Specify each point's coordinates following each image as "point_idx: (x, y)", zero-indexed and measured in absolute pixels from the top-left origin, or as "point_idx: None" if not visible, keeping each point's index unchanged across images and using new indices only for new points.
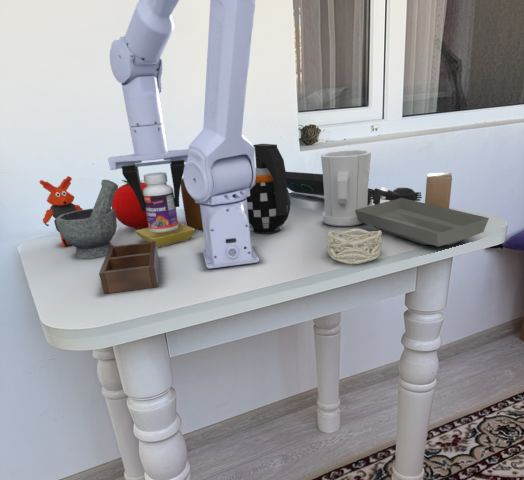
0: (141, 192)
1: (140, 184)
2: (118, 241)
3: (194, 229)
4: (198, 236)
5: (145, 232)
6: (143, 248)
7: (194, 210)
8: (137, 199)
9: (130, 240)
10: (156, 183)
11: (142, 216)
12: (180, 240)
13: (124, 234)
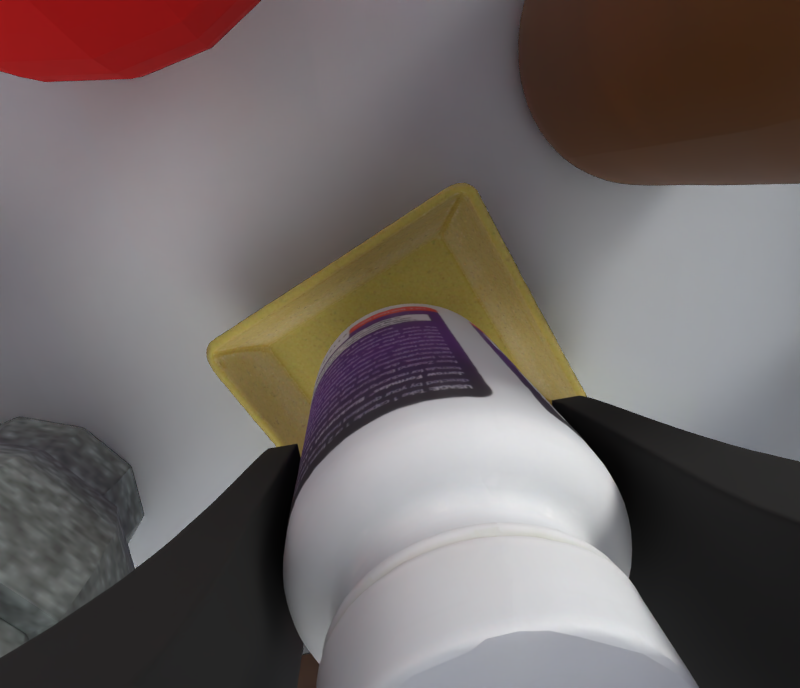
0: (281, 627)
1: (238, 614)
2: (82, 283)
3: None
4: (579, 323)
5: (270, 325)
6: None
7: (654, 172)
8: (53, 6)
9: (163, 284)
10: None
11: (166, 66)
12: None
13: (41, 82)
